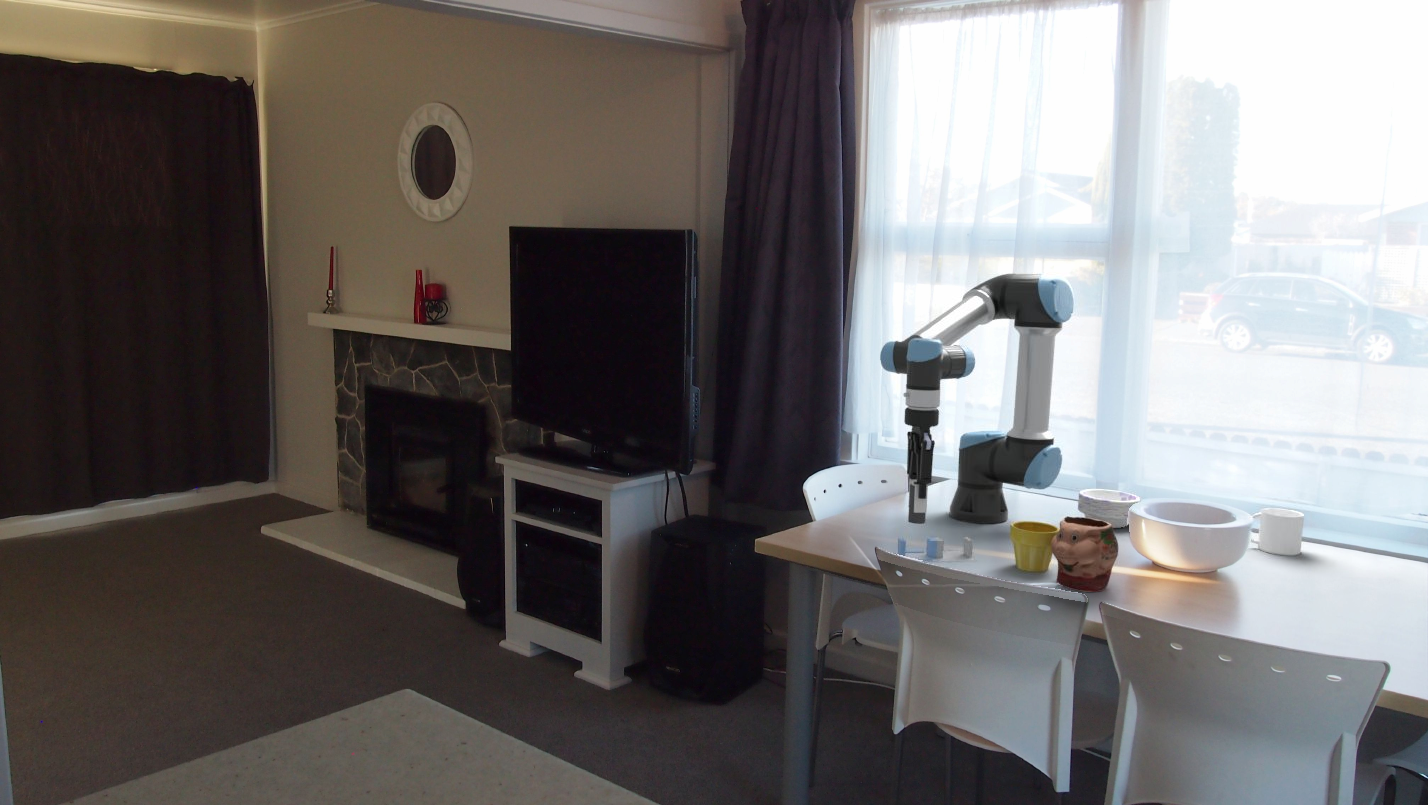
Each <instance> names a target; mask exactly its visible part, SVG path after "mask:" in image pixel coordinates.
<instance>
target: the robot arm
mask: <svg viewBox="0 0 1428 805" xmlns="http://www.w3.org/2000/svg"><path fill="white" fill-rule="evenodd" d="M1074 296H1075V294H1074V292H1073V288H1072V286H1071V284H1070V282H1069V281H1068V280H1067V279H1066V278H1065V277H1064V276H1061V275H1059V274H1058V275H1057V274H1050V273H1005V274H1001V275H997V276H994V277H992V278H990V279H988V280H986V281H983V282H982V283H980V284H977V285H976V286H974V287H973V288H971V289H970V290H968V291H967V292H965V293H964V295H963V296H962V299H961V301H960V302H958V303H956V304H955V305H954V306H952V307H951V308H948V310H946V311H945V312H943V313H941V314H940V315H939V316H937V317H935V319H933V320H932V321H930V322H929V323H927V324H926V325H925V326H923V327H922V328H920V329H919V330H917V331H916V332H914V333H913V334H911V335H910V336H908V337H907V338H905V339H903V340H902V341H899V340H893V341H888V342H886V343H884V345H883V346H882V348H881V350H880V357H879V358H880V359H879V360H880V364H881V366H882V368H883V369H884V370H885V371H887V372H889V373H894V374H899V375H900V374H902V375H903V374H904V375H906V384H905V392H904V393H903V397H904V398H905V406H907V407H906V408H905V409H904V419H903V420H904V421H903V422H904V424H905V425H907V426H910V427H911V431H907V434H906V435H907V457H906V458H907V459H906V461H907V462H906V474H907V475H908V478H909V486H908V495H909V494H910V484H912V481H913V480H917V482H914V484H915V496H914V512H915V513H927V508H928V490H929V484H931V483H932V476H933V462H934V461H933V459H934V449H935V444H936V443H935V440H933V439H932V438H933V437H932V434H931V428H932V427H933V428H934V427H937V426H938V425H939V422H940V421H939V418H940V415H939V414H940V411H939V407H940V404H941V381H942V380H949V379H950V380H952V379H955V380H960V379H962V378H966V377H968V376H969V375H970V374H972V373H973V371H974V369H975V367H976V366H975V365H976V358H975V354H974V352H973V350H971V349H970V348H969V347H967V346H965V345H959V344H957V345H956V344H955V343H956V342H957V341H958V340H960V339H962V338H963V337H964V336H965V335H967V334H969V333H970V332H972V331H973V330H974V329H975V328H977V327H978V326H980V325H981V326H983V325H987V324H989V323H991V322H992V321H994V320H995V321H996V320H1004V319H1005V320H1014V323H1013V324H1014V326H1013V327H1014V329H1015V330H1016V331H1017V332H1018V334H1019V339H1018V340H1019V341H1018V353H1017V354H1018V355H1017V366H1016V367H1017V368H1016V379H1015V380H1016V381H1015V383H1016V384H1015V394H1014V395H1015V396H1014V397H1015V398H1014V407H1013V408H1014V413H1013V424H1012V428H1010V429H1009V431H1007V432H1005V431H1003V430H981V431H980V430H979V431H971V432H965V433H964V434H962V435H961V436H960V441H959V447H958V469H957V472H958V473H957V486H956V490H955V492H954V495H953V497H952V500H951V503H950V505H949V516H950V517H951V518H953V519H955V520H959V521H963V522H968V523H977V524H998V523H999V524H1000V523H1004V522H1007V520H1008V519H1009V508H1008V506H1007V502H1006V499H1005V498H1006V497H1005V495H1004V491H1003V490H1004V489H1003V486H1004V484H1007V485H1012V486H1017V487H1023V488H1025V489H1028V490H1030V489H1033V490H1045V489H1048V488H1049V487H1050V486H1052V484H1053V483H1054V482H1055V481H1056V479H1057V478H1058V476H1059V473H1060V471H1061V468H1062V465H1063V454H1062V450H1061V448H1060V447H1059V446H1057V445H1055V444H1054V443H1055V440H1054V439H1055V436H1054V434H1052V433H1051V432H1050V430H1049V424H1050V412H1051V411H1050V410H1051V397H1052V385H1053V384H1052V383H1053V370H1054V357H1055V346H1056V343H1055V342H1056V336H1057V334H1058V333H1060V332H1061V331H1062V330H1063V323H1067V322H1068V321H1069V320H1070V319H1071V318H1072V314H1073V313H1074V309H1075V297H1074ZM954 344H955V345H954ZM908 508H909V505H908Z"/></svg>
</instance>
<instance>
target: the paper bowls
mask: <svg viewBox="0 0 1428 805" xmlns="http://www.w3.org/2000/svg"><path fill="white" fill-rule="evenodd" d="M1077 500H1078V501H1077V510H1078V511H1079V512H1080V513H1083V514H1084V518H1092V519H1096V520H1101V521H1105V522H1108V523H1110V524H1111V525H1112V527H1113V529H1121V527H1123V528H1126V527H1127V518H1128V511H1129V508H1130V507H1131V506H1132V505H1133V504H1135V503H1138V502H1141V501H1142V500H1141V498H1140V497H1139V496H1138V495H1135V494H1132V493H1129V492H1125V491H1120V490H1113V489H1104V488H1103V489H1102V488H1090V489H1089V488H1088V489H1083V490H1080V491H1079V492H1078V499H1077ZM1125 526H1126V527H1125Z"/></svg>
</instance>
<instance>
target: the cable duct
mask: <svg viewBox="0 0 1428 805" xmlns="http://www.w3.org/2000/svg"><path fill="white" fill-rule="evenodd" d="M944 542H945V541H944V540H943V539H942V538H941V537H937V536H936V537H933V536H932V537H926V549H925V550H926V551H924V550H907V548H906V547H907V545H906V544H907V540H905V538H904V537H898V538H897V551H893V553H894V554H895V553H897V554H899V555H903V556H906V557H910V558H915V559H918V560H923V561H928V562H932V563H933V562H977V560H976V559H975V558H974V557H973V543H974V542H973V539H971V537H970V536H969V537H968V536H966V537H965V536H964V537H963V550H956V551H955V550H944V546H945V545H944V544H945V543H944Z"/></svg>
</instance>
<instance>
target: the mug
mask: <svg viewBox="0 0 1428 805" xmlns="http://www.w3.org/2000/svg"><path fill="white" fill-rule="evenodd" d="M1251 517H1253V518H1254V519H1256V518H1259V528H1258V538H1257V539H1254V538H1252V537H1251V541H1250V542H1251V543H1253V544H1255V545H1256V544H1257V548H1258V549H1259V550H1260V551H1262V552H1264V553H1267V554H1273V555H1277V556H1286V557H1287V556H1288V557H1289V556H1290V557H1291V556H1292V557H1293V556H1299V555H1300V553H1301V550H1302V542H1303V529H1304V520H1305V519H1304V518H1305V514H1303V513H1302V512H1300V511H1297V510H1292V509H1286V508H1280V507H1279V508H1276V507H1265V508H1261V509H1260V512H1258V513H1254V514H1253V515H1252V516H1251Z"/></svg>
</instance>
